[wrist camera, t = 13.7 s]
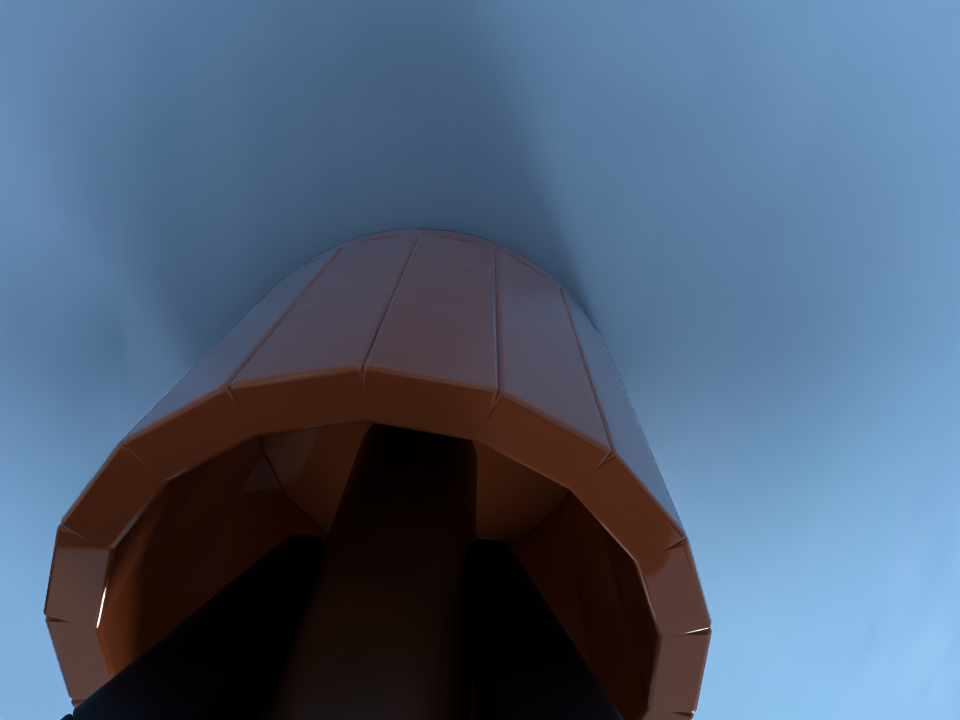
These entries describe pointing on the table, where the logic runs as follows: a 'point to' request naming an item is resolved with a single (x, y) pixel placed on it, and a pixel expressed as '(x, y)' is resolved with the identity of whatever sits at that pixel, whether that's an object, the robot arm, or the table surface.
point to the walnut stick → (390, 589)
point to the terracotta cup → (406, 404)
